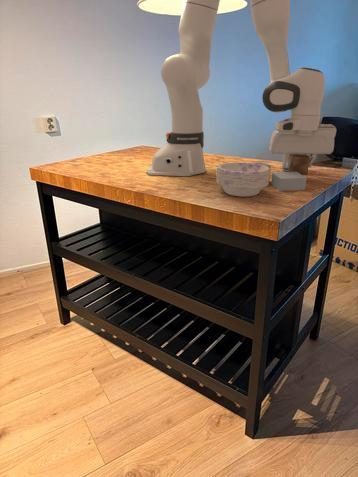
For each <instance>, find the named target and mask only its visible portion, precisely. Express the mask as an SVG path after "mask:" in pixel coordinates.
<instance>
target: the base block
mask: <svg viewBox="0 0 358 477" xmlns="http://www.w3.org/2000/svg"><path fill="white" fill-rule="evenodd" d="M307 179H308V178H307V177H306V175H301V174H300V173H298V172H286V171H281V172H280V171H279V172H272V173H271V181H270V182H271V183H270V184H271V185H272V186H273V187H274V188H276V190H278V191H280V192H282V191H283V192H286V191H305V190H306V186H307Z"/></svg>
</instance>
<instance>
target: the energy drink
mask: <svg viewBox="0 0 358 477" xmlns="http://www.w3.org/2000/svg"><path fill="white" fill-rule="evenodd" d="M282 155H283V156H282V164H281V165H282V166H281V170H282V172H288V171H289V167H286V162H287V161H286V159H285V157H284V154H282ZM290 155H291V154H290ZM288 159H289V161H290V157H288Z"/></svg>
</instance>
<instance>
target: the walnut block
mask: <svg viewBox="0 0 358 477" xmlns="http://www.w3.org/2000/svg"><path fill="white" fill-rule="evenodd" d="M310 158H311V156H310V155H309V154H291V155H290V161H291V162H292V167H289V171H288V172H298V173H300V174H301V175H303V176H308V171H309V168H308V167H309V160H310Z"/></svg>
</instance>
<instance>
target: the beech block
mask: <svg viewBox="0 0 358 477" xmlns="http://www.w3.org/2000/svg"><path fill="white" fill-rule="evenodd" d="M254 163H255V164H261V165H265V166H267V167H269V169H270V170H269V182H268V184H270V182H271V181H270V179H271V166H272V165H271V164H269V163H267V162H264V161H262V162H259V161H258V162H254Z"/></svg>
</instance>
